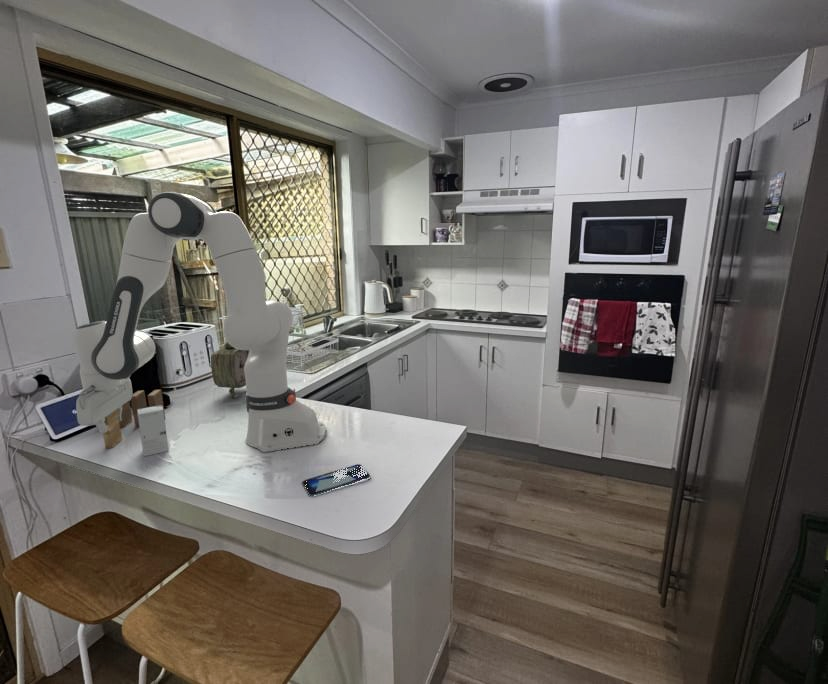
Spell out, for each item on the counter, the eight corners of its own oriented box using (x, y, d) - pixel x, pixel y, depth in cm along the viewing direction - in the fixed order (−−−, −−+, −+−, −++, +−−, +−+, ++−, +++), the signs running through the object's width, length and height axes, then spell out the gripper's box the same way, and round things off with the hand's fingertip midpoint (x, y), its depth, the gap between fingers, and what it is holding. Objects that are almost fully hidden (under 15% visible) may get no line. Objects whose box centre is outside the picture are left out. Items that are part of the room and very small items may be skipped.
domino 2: (149, 419, 138) (144, 390, 136) (141, 426, 133) (136, 396, 131) (143, 420, 138) (138, 390, 135) (135, 426, 133) (129, 396, 131)
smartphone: (300, 480, 101) (359, 463, 108) (301, 484, 102) (360, 466, 109) (309, 496, 95) (371, 476, 102) (310, 500, 95) (371, 480, 102)
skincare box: (143, 457, 114) (136, 414, 111) (143, 450, 118) (135, 409, 115) (170, 450, 117) (163, 409, 115) (168, 444, 121) (162, 404, 118)
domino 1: (132, 420, 137) (127, 391, 135) (124, 427, 133) (118, 396, 130) (126, 421, 137) (121, 391, 135) (118, 427, 132) (112, 397, 130)
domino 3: (165, 418, 139) (160, 389, 136) (158, 425, 134) (153, 395, 131) (159, 419, 138) (154, 389, 136) (152, 425, 134) (147, 395, 131)
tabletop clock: (236, 400, 153) (228, 332, 147) (213, 399, 155) (204, 331, 149) (257, 387, 167) (250, 324, 161) (236, 386, 169) (228, 323, 163)
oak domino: (122, 439, 124) (116, 407, 122) (112, 447, 120) (106, 414, 117) (115, 440, 124) (109, 407, 122) (105, 448, 119) (99, 414, 117)
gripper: (91, 392, 108) (101, 443, 111) (133, 369, 127) (140, 412, 131) (64, 394, 107) (75, 444, 110) (110, 370, 127) (118, 413, 130)
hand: (111, 427), depth 121 cm, fingers closed on oak domino, 5 cm apart
